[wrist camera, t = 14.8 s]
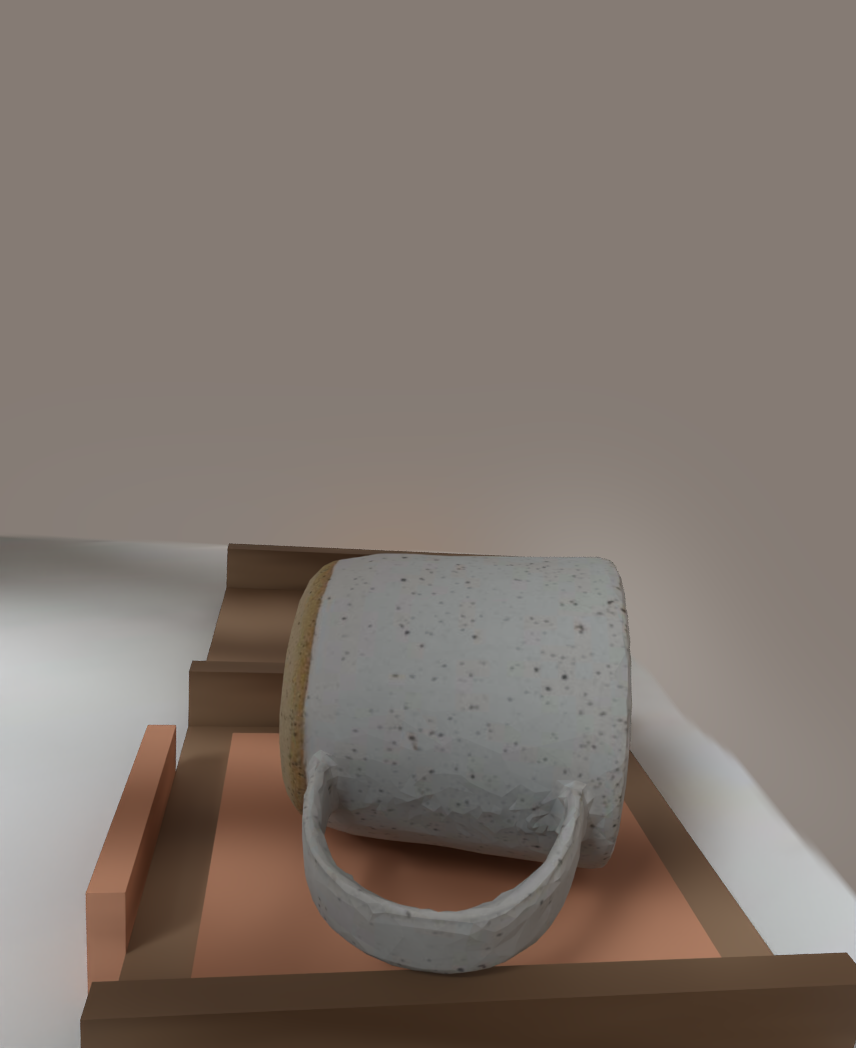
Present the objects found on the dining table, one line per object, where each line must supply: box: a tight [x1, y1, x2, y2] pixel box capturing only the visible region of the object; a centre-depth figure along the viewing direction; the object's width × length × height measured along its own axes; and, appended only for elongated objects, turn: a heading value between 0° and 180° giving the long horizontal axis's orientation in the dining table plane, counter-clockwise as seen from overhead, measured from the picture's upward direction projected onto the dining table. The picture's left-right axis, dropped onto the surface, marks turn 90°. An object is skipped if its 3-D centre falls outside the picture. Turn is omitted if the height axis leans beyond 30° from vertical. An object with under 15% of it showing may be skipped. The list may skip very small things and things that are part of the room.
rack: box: [80, 544, 856, 1048], centre depth 22 cm, size 41×16×3 cm, turn 8°
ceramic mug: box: [279, 553, 632, 974], centre depth 20 cm, size 11×8×8 cm
